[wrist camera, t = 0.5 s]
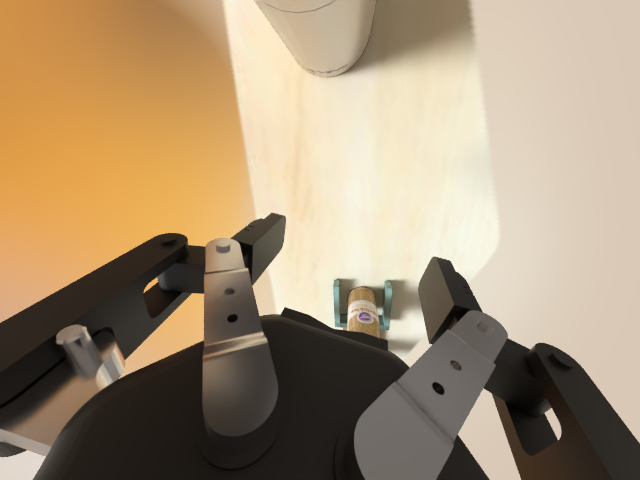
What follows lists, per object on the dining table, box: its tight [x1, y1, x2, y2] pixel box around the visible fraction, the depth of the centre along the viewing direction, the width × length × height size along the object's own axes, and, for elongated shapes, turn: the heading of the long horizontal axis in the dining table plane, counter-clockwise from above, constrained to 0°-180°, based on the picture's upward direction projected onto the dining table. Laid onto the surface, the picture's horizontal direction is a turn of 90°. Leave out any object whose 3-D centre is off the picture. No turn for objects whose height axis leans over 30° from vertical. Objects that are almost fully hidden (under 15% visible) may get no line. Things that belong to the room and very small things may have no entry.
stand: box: [333, 280, 392, 331], centre depth 33 cm, size 16×9×12 cm, turn 3°
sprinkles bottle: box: [347, 287, 381, 338], centre depth 31 cm, size 5×5×13 cm
